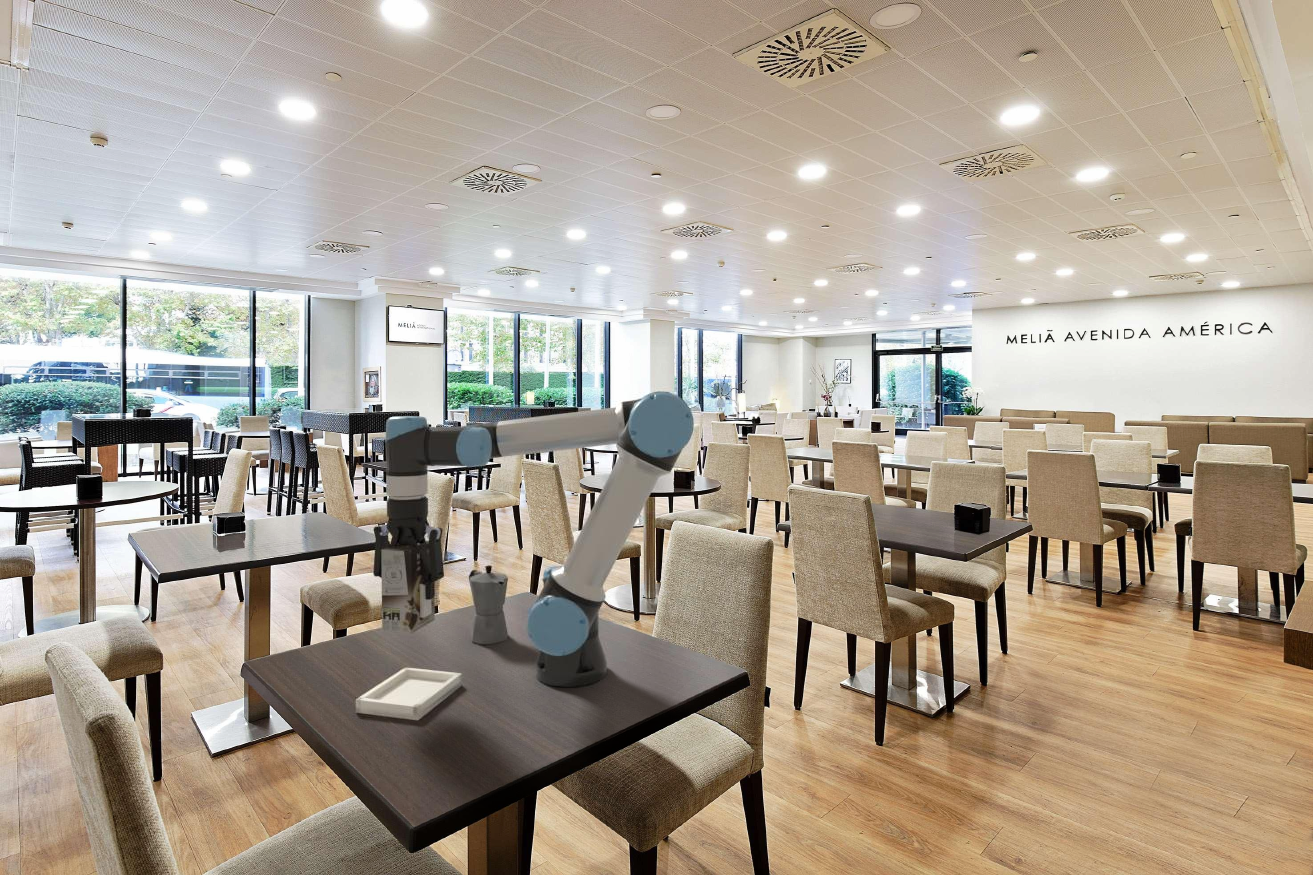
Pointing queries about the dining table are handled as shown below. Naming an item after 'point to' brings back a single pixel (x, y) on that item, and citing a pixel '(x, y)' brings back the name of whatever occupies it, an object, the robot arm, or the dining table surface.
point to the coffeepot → (488, 606)
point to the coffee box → (402, 590)
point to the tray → (409, 693)
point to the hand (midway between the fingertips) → (409, 613)
